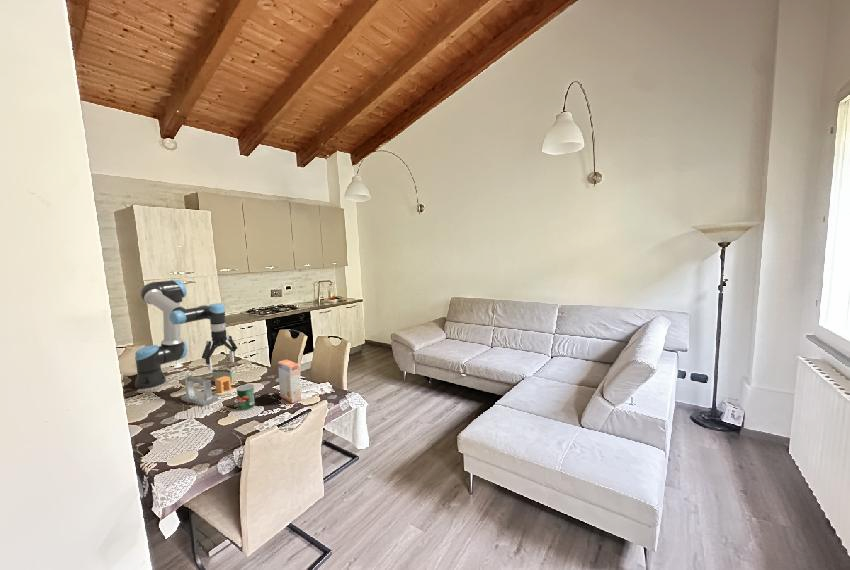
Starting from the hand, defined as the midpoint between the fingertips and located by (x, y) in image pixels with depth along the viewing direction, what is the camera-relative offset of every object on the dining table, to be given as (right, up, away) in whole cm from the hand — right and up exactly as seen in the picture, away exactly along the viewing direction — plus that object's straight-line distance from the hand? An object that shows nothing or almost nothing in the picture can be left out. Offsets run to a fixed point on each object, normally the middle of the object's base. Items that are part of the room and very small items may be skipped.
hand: (221, 365), depth 202 cm
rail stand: (-7, -17, -9) cm, 21 cm away
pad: (+1, -16, +2) cm, 16 cm away
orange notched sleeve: (+1, -15, +2) cm, 15 cm away
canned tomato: (+24, -18, -18) cm, 35 cm away
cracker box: (+44, -17, -9) cm, 48 cm away
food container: (-6, -15, +15) cm, 21 cm away
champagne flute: (-58, -11, +46) cm, 75 cm away
